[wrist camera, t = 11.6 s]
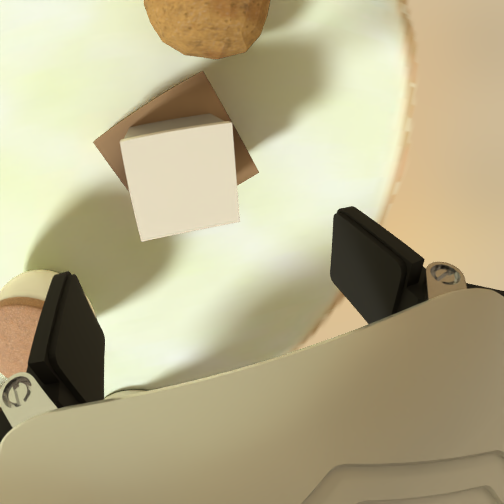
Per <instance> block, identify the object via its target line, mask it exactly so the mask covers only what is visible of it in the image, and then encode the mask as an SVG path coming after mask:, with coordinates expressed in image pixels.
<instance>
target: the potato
mask: <svg viewBox="0 0 504 504" xmlns="http://www.w3.org/2000/svg"><path fill="white" fill-rule="evenodd" d="M269 4H270V0H144V6H145V9H146V11H147V14H148V17H149V20H150V23H151V24H152V26H153V27H154V29H155V31H156V32H157V34H158V35H159V37H160V38H161V40H162V41H163V42H164V43H166V44H167V45H169V46H171V47H173V48H174V49H176V50H177V51H179V52H181V53H182V54H184V55H189V56H197V57H204V58H210V59H220V58H224V57H228V56H232V55H236V54H240V53H244V52H246V51H247V50H248V49H249V48H250V46H251V45H252V44H253V43H254V42H255V41H256V39H257V38H258V37H259V36H260V35H261V32H262V29H263V26H264V23H265V21H266V18H267V14H268V9H269Z"/></svg>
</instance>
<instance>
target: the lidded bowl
mask: <svg viewBox="0 0 504 504" xmlns="http://www.w3.org/2000/svg"><path fill="white" fill-rule="evenodd" d="M56 274H60V273H57V272H54V271H50V270H39V269H38V270H31V271H27V272H23V273H21V274H19V275H17V276H16V277H14V278H12V279H11V280H10V281H9V282H8V283H7V284H6V285H5V286H4V287H3V288H2V289H1V291H0V372H1V373H2V374H3V375H4V376H6V377H7V378H9V377H11V376H12V375H14V374H16V373H19V372H26V371H27V367H28V364H27V363H28V359H29V355H30V351H31V347H32V343H33V339H34V335H35V332H36V328H37V324H38V321H39V318H40V314H41V311H42V308H43V305H44V301H45V298H46V295H47V292H48V289H49V286H50V283H51V281H52V278H53V276H54V275H56ZM84 294H85V293H84ZM85 296H86V294H85ZM86 298H87V300H88V303H89V305H90V307H91V309H92V311H93V313H94V315H95V317H96V314H95V311H94V308H93V306H92V304H91V302H90V300H89V298H88V297H87V296H86ZM96 319H97V318H96Z"/></svg>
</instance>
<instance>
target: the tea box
mask: <svg viewBox="0 0 504 504" xmlns="http://www.w3.org/2000/svg"><path fill="white" fill-rule="evenodd" d="M209 113H211V114H212V115H214V116H216V117H218V118H220V119H222V120H223V121H230V122H232V121H231V120H230V118H229V116H228V114H227V112H226V111H225V109H224V107H223V105H222V103H221V102H220V100H219V98H218V96H217V95H216V93H215V91H214V89H213V88H212V86H211V84H210V82H209V81H208V79H207V77H206V75H205V74H204V72H203V71H201V72H199V73H198V74H196V75H194V76H192V77H190V78H189V79H187V80H185V81H183V82H181V83H180V84H178V85H176V86H175V87H173V88H171V89H170V90H168V91H166V92H165V93H163V94H161V95H160V96H158V97H156V98H155V99H153V100H152V101H150V102H149V103H147V104H145V105H144V106H142V107H141V108H139V109H138V110H136V111H135V112H133V113H132V114H130V115H129V116H127V117H126V118H125V119H123V120H122V121H120V122H119V123H117V124H116V125H115V126H113V127H112V128H111V129H109V130H108V131H106V132H105V133H104V134H102V135H101V136H100V137H98V138H97V139H96V140H95V141H94V142H93V143H94V144H95V145H96V147H97V148H98V150H99V151H100V153H101V154H102V155H103V157H104V158H105V160H106V161H107V162H108V164H109V165H110V166H111V168H112V169H113V171H114V172H115V173H116V175H117V176H118V177H119V179H120V180H121V182H122V183H123V184H124V186H125V187H126V188H127V190H128V191H129V187H128V182H127V178H126V173H125V168H124V162H123V157H122V152H121V146H120V140H122V139H124V138H125V135H126V133H127V131H128V129H129V127H133V126H138V125H143V124H148V123H153V122H158V121H164V120H170V119H176V118H182V117H188V116H195V115H202V114H209ZM232 128H233V141H234V154H235V167H236V180H237V185H239V184H241V183H242V182H244V181H246V180H247V179H249V178H251V177H252V176H254V175H256V174H257V173H259V171H258V169H257V168H256V166H255V164H254V162H253V160H252V158H251V156H250V154H249V153H248V151H247V149H246V147H245V145H244V143H243V141H242V140H241V138H240V136H239V134H238V132H237V130H236V129H235V127H234V125H233V123H232Z"/></svg>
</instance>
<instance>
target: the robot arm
mask: <svg viewBox="0 0 504 504" xmlns="http://www.w3.org/2000/svg"><path fill="white" fill-rule="evenodd" d="M423 263H424V259H423V258H422V257H421V256H420V255H419V254H417V253H416V252H415V251H414V250H412V249H411V248H410V247H408V246H407V245H406V244H405V243H403V242H402V241H401V240H399V239H398V238H396V237H395V236H394V235H393V234H391V233H390V232H389V231H387V230H386V229H385V228H383V227H382V226H380V225H379V224H378V223H376V222H375V221H374V220H372V219H371V218H369V217H368V216H367V215H365V214H364V213H362V212H361V211H359V210H358V209H357V208H355V207H353V206H351V207H346V208H341V209H339V210H338V211H337V213H336V214H335V215H334V218H333V238H332V255H331V269H330V276H331V279H332V281H333V283H334V284H335V285H336V286H337V287H338V289H339V290H340V291H341V292H342V293H343V294H344V296H345V297H346V298H347V299H348V300H349V301H350V302H351V304H352V305H353V306H354V307H355V308H356V309H357V311H358V312H359V313H360V314H361V315H362V317H363V318H364V319H365V320H366V321H367V323H368V325H366V326H363V327H361V328H358V329H356V330H353V331H350V332H348V333H345V334H342V335H340V336H337V337H334V338H331V339H329V340H326V341H323V342H320V343H317V344H315V345H311V346H309V347H306V348H303V349H300V350H297V351H294V352H291V353H288V354H285V355H281V356H278V357H275V358H272V359H269V360H266V361H262V362H259V363H256V364H252V365H249V366H245V367H242V368H238V369H235V370H231V371H228V372H224V373H220V374H217V375H213V376H209V377H205V378H201V379H197V380H193V381H189V382H185V383H181V384H177V385H172V386H168V387H164V388H159V389H154V390H150V391H144V390H127V391H121V392H117V393H114V394H112V395H109V396H108V397H106V398H105V399H104V351H105V337H104V334H103V331H102V329H101V327H100V325H99V323H98V321H97V319H96V317H95V315H94V313H93V311H92V309H91V307H90V305H89V303H88V300H87V298H86V296H85V294H84V292H83V290H82V287H81V285H80V283H79V281H78V278H77V276H76V275H75V274H73V275H71V273H70V272H64V273H60V274H56V275H54V276H53V278H52V281H51V283H50V286H49V289H48V292H47V295H46V298H45V301H44V305H43V308H42V311H41V314H40V318H39V321H38V324H37V328H36V332H35V335H34V339H33V343H32V347H31V351H30V355H29V359H28V363H27V364H28V367H27V371H26V372H19V373H16V374H14V375H12V376H11V377H9V378H8V379H7V380H6V381H5V382H4V384H3V385H2V387H1V389H0V406H1V408H2V410H1V411H0V504H504V291H500V290H495V289H491V288H486V287H482V286H476V285H472V284H468V283H466V282H465V278H464V275H463V273H462V272H461V271H460V270H459V269H458V268H457V267H455V266H453V265H451V264H448V263H444V262H434V263H431V264H429V265H428V266H427V268H426V269H425V268H424V267H423Z"/></svg>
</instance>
